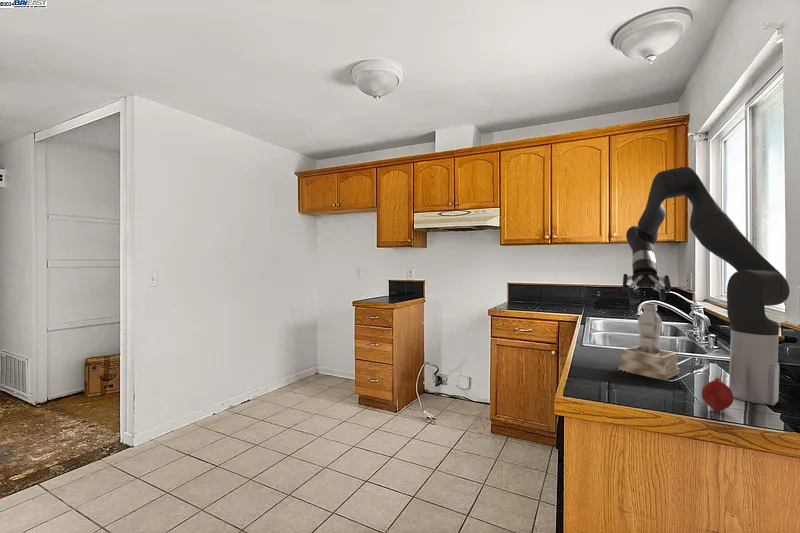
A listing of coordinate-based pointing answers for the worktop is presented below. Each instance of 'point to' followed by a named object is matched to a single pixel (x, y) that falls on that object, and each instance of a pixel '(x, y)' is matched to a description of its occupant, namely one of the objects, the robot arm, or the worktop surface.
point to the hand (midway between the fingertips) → (646, 299)
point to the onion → (717, 395)
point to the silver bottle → (649, 330)
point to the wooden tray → (650, 363)
